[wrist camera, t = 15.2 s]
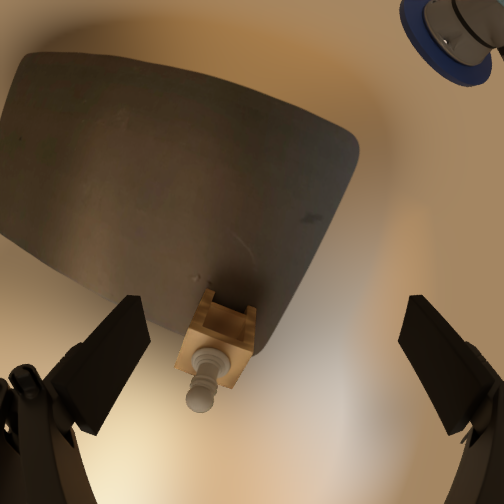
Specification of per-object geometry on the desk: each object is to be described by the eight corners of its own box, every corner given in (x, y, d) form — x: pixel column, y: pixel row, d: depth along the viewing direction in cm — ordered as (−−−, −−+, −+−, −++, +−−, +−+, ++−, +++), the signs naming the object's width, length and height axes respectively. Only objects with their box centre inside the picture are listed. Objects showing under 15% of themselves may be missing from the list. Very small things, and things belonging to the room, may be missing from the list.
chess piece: (188, 366, 36) (171, 413, 27) (197, 340, 34) (180, 388, 26) (223, 379, 36) (214, 427, 28) (236, 354, 35) (228, 404, 26)
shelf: (256, 308, 46) (253, 352, 35) (239, 342, 48) (231, 389, 37) (206, 287, 45) (188, 327, 34) (192, 324, 48) (173, 367, 36)
